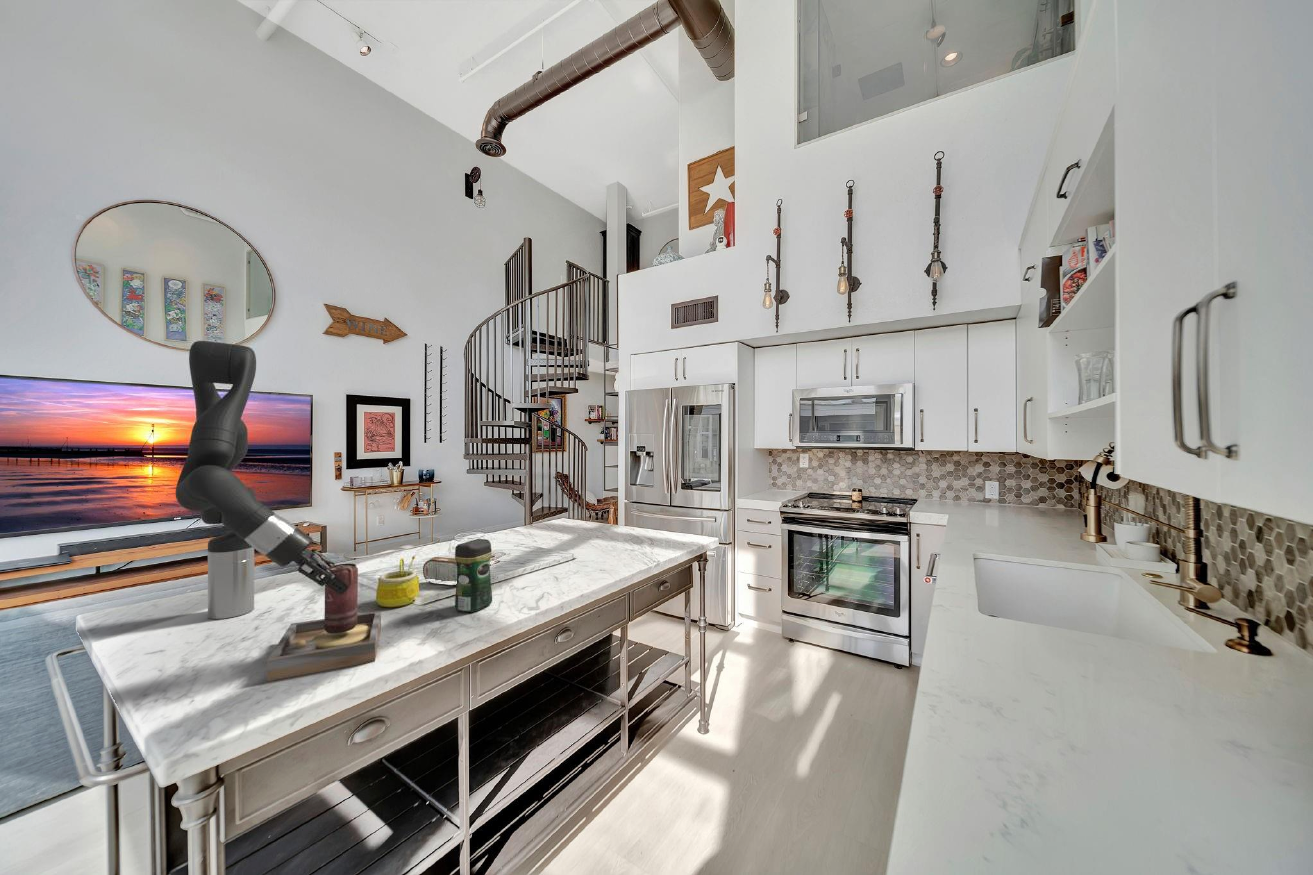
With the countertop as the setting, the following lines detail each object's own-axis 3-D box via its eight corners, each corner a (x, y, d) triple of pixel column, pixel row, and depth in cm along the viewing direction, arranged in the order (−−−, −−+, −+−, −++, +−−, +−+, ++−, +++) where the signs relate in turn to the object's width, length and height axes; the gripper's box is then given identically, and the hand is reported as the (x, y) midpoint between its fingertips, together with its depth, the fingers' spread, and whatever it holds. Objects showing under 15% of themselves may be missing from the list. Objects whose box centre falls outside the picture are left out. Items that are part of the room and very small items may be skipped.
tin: (468, 584, 150) (468, 558, 150) (462, 588, 147) (462, 561, 147) (427, 581, 154) (427, 555, 154) (420, 584, 151) (421, 557, 150)
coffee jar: (474, 599, 137) (475, 535, 137) (496, 603, 134) (497, 538, 134) (448, 611, 128) (449, 542, 128) (471, 615, 125) (472, 545, 125)
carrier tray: (291, 640, 109) (291, 619, 109) (380, 626, 117) (381, 606, 117) (267, 681, 91) (266, 655, 91) (374, 661, 99) (375, 637, 99)
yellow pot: (396, 611, 127) (396, 567, 127) (366, 606, 131) (366, 563, 131) (433, 596, 139) (433, 556, 139) (404, 592, 143) (404, 552, 143)
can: (342, 635, 102) (342, 571, 102) (317, 632, 103) (318, 568, 103) (364, 624, 108) (365, 563, 108) (341, 621, 109) (341, 561, 109)
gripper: (291, 532, 95) (360, 581, 102) (298, 521, 107) (359, 565, 114) (256, 561, 92) (330, 610, 99) (268, 547, 105) (333, 591, 111)
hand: (345, 586), depth 106 cm, fingers closed on can, 6 cm apart
